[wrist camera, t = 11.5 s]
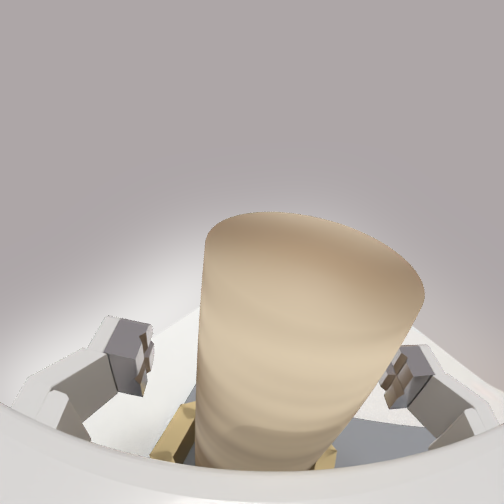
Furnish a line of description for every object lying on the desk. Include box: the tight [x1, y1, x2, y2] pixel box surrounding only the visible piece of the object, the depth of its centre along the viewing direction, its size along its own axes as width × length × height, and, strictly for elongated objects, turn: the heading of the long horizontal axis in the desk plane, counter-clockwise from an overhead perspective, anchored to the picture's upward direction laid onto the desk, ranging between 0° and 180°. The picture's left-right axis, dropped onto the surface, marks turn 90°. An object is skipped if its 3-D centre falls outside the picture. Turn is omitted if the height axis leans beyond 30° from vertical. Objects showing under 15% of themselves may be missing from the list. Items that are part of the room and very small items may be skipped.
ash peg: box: [195, 212, 425, 471], centre depth 10 cm, size 5×5×14 cm
